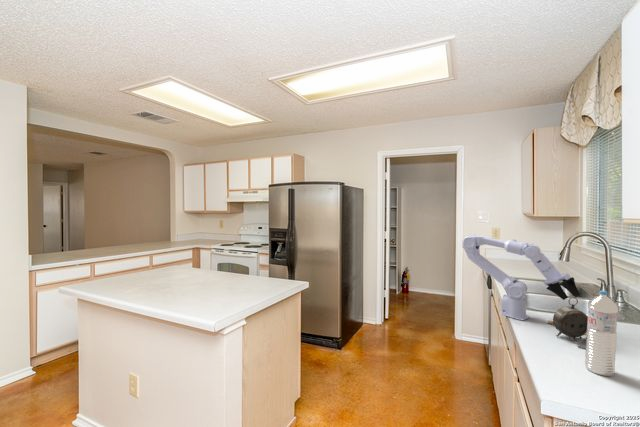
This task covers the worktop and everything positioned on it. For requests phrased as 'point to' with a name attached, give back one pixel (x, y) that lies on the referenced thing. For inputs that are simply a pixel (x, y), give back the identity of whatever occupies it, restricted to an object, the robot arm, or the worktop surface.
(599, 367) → the water bottle
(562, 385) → the worktop surface
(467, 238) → the robot arm
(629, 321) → the worktop surface
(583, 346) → the mat
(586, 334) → the turner
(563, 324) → the alarm clock
